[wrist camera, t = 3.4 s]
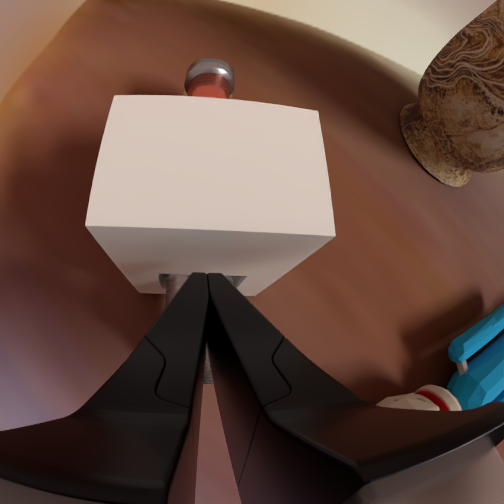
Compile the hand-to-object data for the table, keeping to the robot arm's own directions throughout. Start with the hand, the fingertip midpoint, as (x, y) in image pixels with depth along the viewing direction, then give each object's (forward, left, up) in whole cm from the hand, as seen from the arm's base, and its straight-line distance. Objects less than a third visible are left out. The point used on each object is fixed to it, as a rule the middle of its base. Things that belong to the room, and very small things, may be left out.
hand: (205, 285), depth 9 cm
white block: (+2, +2, -8) cm, 8 cm away
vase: (+23, -8, -8) cm, 26 cm away
